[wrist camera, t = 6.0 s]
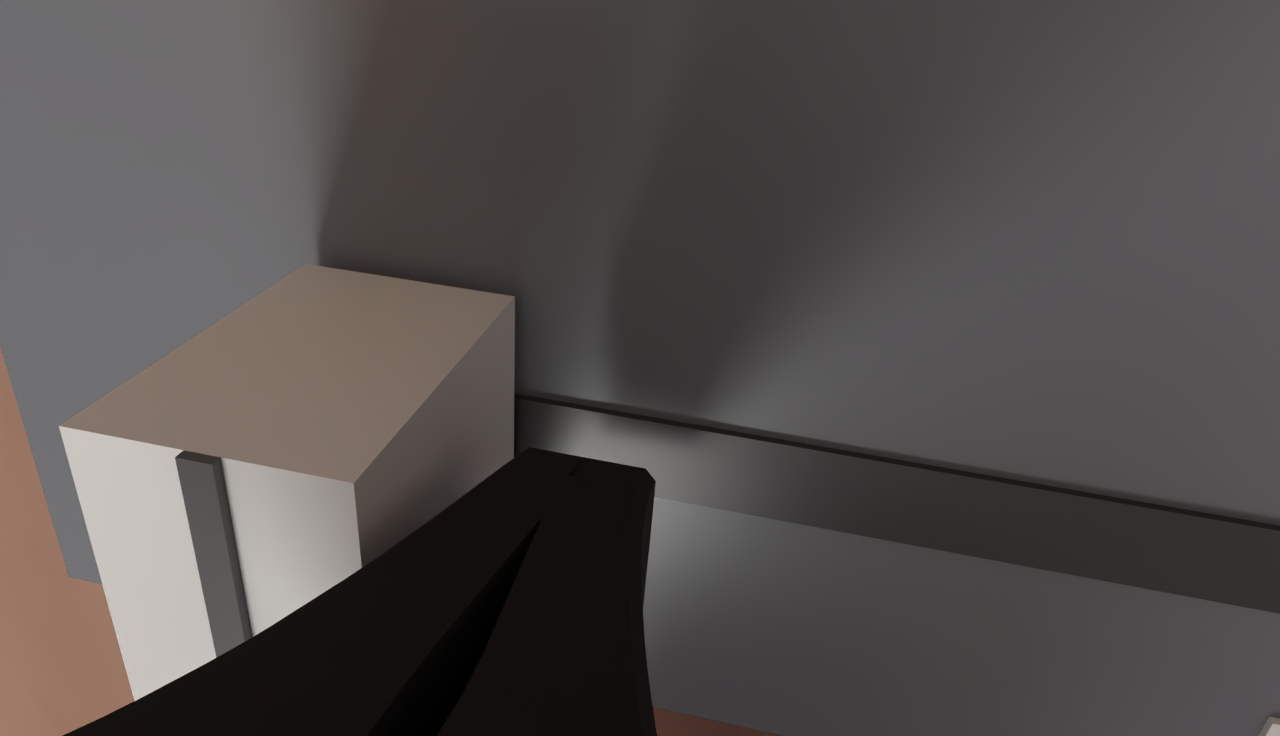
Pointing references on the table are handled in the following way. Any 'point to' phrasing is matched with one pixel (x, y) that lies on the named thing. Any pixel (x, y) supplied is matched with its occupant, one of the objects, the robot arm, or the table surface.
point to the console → (749, 307)
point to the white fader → (285, 455)
